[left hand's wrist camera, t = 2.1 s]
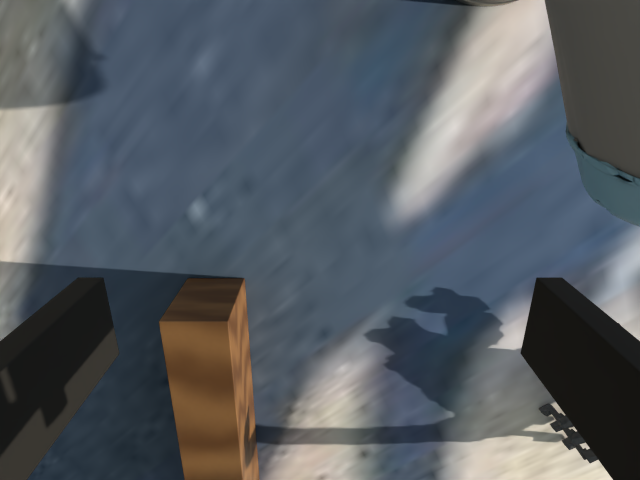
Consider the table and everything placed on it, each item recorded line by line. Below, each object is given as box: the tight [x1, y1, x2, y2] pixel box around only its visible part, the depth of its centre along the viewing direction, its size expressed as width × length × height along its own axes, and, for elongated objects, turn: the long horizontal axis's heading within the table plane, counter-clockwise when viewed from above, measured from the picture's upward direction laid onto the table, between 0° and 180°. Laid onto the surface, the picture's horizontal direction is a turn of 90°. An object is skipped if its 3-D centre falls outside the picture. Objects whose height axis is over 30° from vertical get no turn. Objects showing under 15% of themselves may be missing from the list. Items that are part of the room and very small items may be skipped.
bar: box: [159, 278, 259, 480], centre depth 45 cm, size 34×6×8 cm, turn 0°
